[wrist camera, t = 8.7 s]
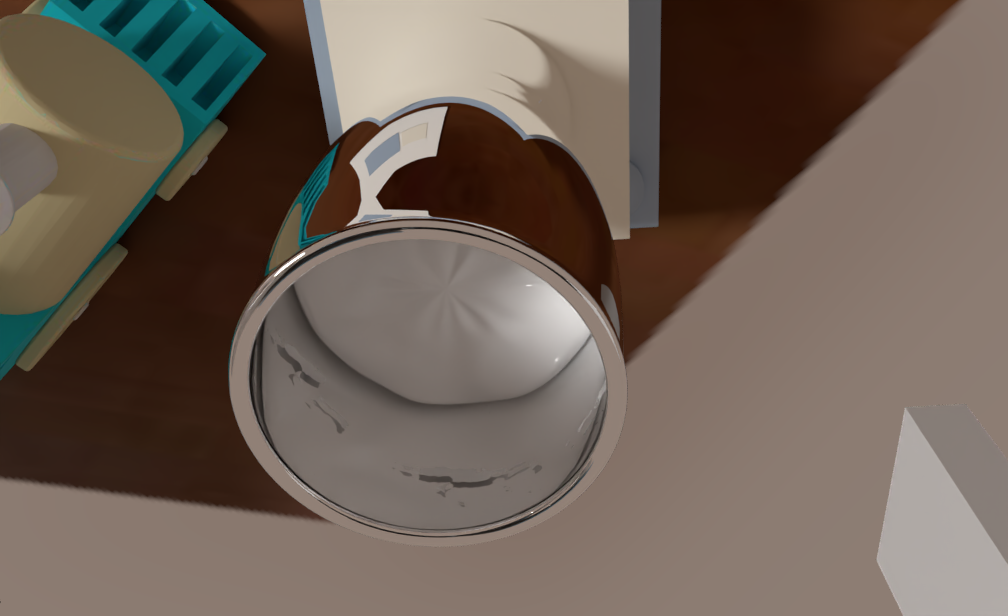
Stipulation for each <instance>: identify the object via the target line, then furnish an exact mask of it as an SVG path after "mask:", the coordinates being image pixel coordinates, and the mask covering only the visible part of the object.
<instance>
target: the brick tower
mask: <svg viewBox="0 0 1008 616" xmlns="http://www.w3.org/2000/svg"><path fill="white" fill-rule="evenodd" d="M303 1H304V6H305V12H306V17H307V23H308V28H309V34H310V39H311V44H312V50H313V55H314V61H315V66H316V72H317V77H318V83H319V88H320V93H321V99H322V104H323V110H324V115H325V121H326V126H327V132H328V137H329V142H330V146H331V145H332V144H333V143H334V142H335V141H336V140H337V139H338V138H339V137H340V136H341V135H342V134H343V133H344V132H346V131H347V130H348V129H349V128H350V127H351V126H352V125H353V124H354V123H355V122H357V121H358V120H359V119H360V118H361V117H363V116H364V115H365V114H367V113H368V112H370V111H371V110H373V109H374V108H375V103H376V97H377V92H378V89H379V85H380V82H381V80H382V77H383V75H384V73H385V71H386V69H387V67H388V65H389V64H390V62H391V60H392V59H393V58H394V56H395V55H396V54H397V53H398V51H399V50H400V49H401V48H402V47H403V46H404V45H405V44H406V43H407V42H409V41H410V40H411V39H412V38H414V37H415V36H417V35H418V34H420V33H421V32H423V31H425V30H427V29H429V28H431V27H433V26H436V25H438V24H441V23H445V22H449V21H453V20H460V19H482V20H489V21H494V22H498V23H501V24H504V25H507V26H509V27H512V28H514V29H516V30H518V31H520V32H522V33H523V34H525V35H526V36H528V37H529V38H531V39H532V40H534V41H535V42H536V43H537V44H539V45H540V46H541V47H542V48H543V49H544V50H545V51H546V52H547V53H548V55H549V56H550V57H551V58H552V60H553V61H554V63H555V64H556V66H557V67H558V69H559V71H560V73H561V74H562V77H563V79H564V81H565V84H566V86H567V89H568V93H569V97H570V102H571V110H572V127H571V135H570V140H569V143H570V144H571V146H572V147H573V148H574V150H575V151H576V153H577V154H578V156H579V157H580V159H581V161H582V162H583V164H584V166H585V168H586V170H587V172H588V173H589V175H590V177H591V179H592V181H593V183H594V185H595V187H596V189H597V191H598V193H599V195H600V198H601V200H602V203H603V206H604V209H605V212H606V216H607V219H608V223H609V227H610V230H611V234H612V237H613V240H615V239H630V228H643V227H658V213H659V132H660V51H661V0H303Z"/></svg>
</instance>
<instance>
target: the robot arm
mask: <svg viewBox="0 0 1008 616" xmlns="http://www.w3.org/2000/svg"><path fill="white" fill-rule="evenodd" d="M877 562H878V564H879V567H880V569H881V571H882V573H883V575H884V577H885V579H886V581H887V583H888V585H889V587H890V589H891V591H892V594H893V596H894V598H895V600H896V602H897V604H898V606H899V608H900V610H901V612H902V614H903V616H1008V459H1007V458H1006V457H1005V456H1004V454H1003V453H1002V452H1001V450H1000V449H999V448H998V446H997V445H996V444H995V442H994V441H993V440H992V438H991V437H990V436H989V434H988V433H987V432H986V430H985V429H984V428H983V426H982V425H981V424H980V422H979V421H978V420H977V418H976V417H975V416H974V414H973V413H972V412H971V410H970V409H969V408H968V406H967V405H966V404H956V405H955V404H954V405H936V406H918V407H905V411H904V417H903V422H902V428H901V433H900V439H899V443H898V449H897V454H896V459H895V464H894V470H893V475H892V480H891V486H890V491H889V497H888V502H887V507H886V513H885V518H884V523H883V529H882V534H881V540H880V544H879V550H878V556H877Z"/></svg>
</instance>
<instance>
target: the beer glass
mask: <svg viewBox="0 0 1008 616" xmlns="http://www.w3.org/2000/svg"><path fill="white" fill-rule="evenodd" d="M571 127H572V110H571V102H570V97H569V93H568V89H567V86H566V84H565V81H564V79H563V77H562V74H561V73H560V71H559V69H558V67H557V66H556V64H555V63H554V61H553V60H552V58H551V57H550V56H549V55H548V53H547V52H546V51H545V50H544V49H543V48H542V47H541V46H540V45H539V44H537V43H536V42H535V41H534V40H532V39H531V38H529V37H528V36H526V35H525V34H523V33H522V32H520V31H518V30H516V29H514V28H512V27H509V26H507V25H504V24H501V23H498V22H494V21H489V20H482V19H460V20H453V21H449V22H445V23H441V24H438V25H436V26H433V27H431V28H429V29H427V30H425V31H423V32H421V33H420V34H418V35H417V36H415V37H414V38H412V39H411V40H410V41H409V42H407V43H406V44H405V45H404V46H403V47H402V48H401V49H400V50H399V51H398V53H397V54H396V55H395V56H394V58H393V59H392V60H391V62H390V64H389V65H388V67H387V69H386V71H385V73H384V75H383V77H382V80H381V82H380V85H379V89H378V92H377V97H376V103H375V108H374V109H373V110H371V111H370V112H368V113H367V114H365V115H364V116H363V117H361V118H360V119H359V120H358V121H357V122H355V123H354V124H353V125H352V126H351V127H350V128H349V129H348V130H347V131H346V132H344V133H343V134H342V135H341V136H340V137H339V138H338V139H337V140H336V141H335V142H334V143H333V144H332V145H331V146H330V147H329V148H328V149H327V150H326V151H325V152H324V153H323V155H322V156H321V157H320V158H319V160H318V161H317V163H316V164H315V166H314V167H313V168H312V170H311V171H310V173H309V174H308V176H307V177H306V179H305V180H304V181H303V183H302V184H301V186H300V187H299V189H298V190H297V192H296V193H295V195H294V197H293V199H292V201H291V203H290V204H289V206H288V208H287V210H286V212H285V214H284V216H283V219H282V221H281V223H280V225H279V227H278V229H277V231H276V233H275V235H274V237H273V239H272V242H271V244H270V247H269V249H268V252H267V254H266V257H265V260H264V262H263V265H262V267H261V270H260V272H259V275H258V278H257V281H256V284H255V287H254V290H253V292H252V295H251V298H250V300H249V302H248V303H247V305H246V307H245V309H244V311H243V312H242V315H241V317H240V319H239V321H238V324H237V326H236V329H235V332H234V335H233V339H232V343H231V348H230V354H229V363H228V384H229V394H230V399H231V404H232V408H233V412H234V415H235V418H236V421H237V424H238V426H239V429H240V431H241V433H242V435H243V437H244V439H245V441H246V443H247V445H248V446H249V448H250V450H251V451H252V453H253V454H254V456H255V457H256V459H257V460H258V462H259V463H260V464H261V466H262V467H263V468H264V469H265V471H266V472H267V473H268V474H269V475H270V476H271V477H272V478H273V480H274V481H275V482H276V483H277V484H278V485H279V486H280V487H282V488H283V489H284V490H285V491H286V492H287V493H288V494H290V495H291V496H292V497H293V498H294V499H296V500H297V501H298V502H300V503H301V504H302V505H304V506H305V507H307V508H308V509H310V510H311V511H313V512H315V513H316V514H318V515H320V516H321V517H323V518H325V519H327V520H329V521H331V522H333V523H335V524H337V525H339V526H342V527H344V528H346V529H349V530H351V531H354V532H357V533H359V534H362V535H365V536H369V537H372V538H376V539H380V540H384V541H388V542H393V543H399V544H405V545H413V546H425V547H453V546H465V545H473V544H480V543H485V542H489V541H494V540H498V539H502V538H505V537H508V536H511V535H514V534H517V533H520V532H522V531H525V530H527V529H529V528H532V527H534V526H536V525H538V524H540V523H542V522H544V521H546V520H547V519H549V518H551V517H553V516H554V515H556V514H557V513H559V512H560V511H561V510H563V509H564V508H566V507H567V506H569V505H570V504H571V503H572V502H574V501H575V500H576V499H577V498H578V497H579V496H580V495H582V494H583V493H584V491H586V490H587V489H588V488H589V487H590V485H591V484H592V483H593V482H594V481H595V480H596V478H597V477H598V476H599V474H600V473H601V472H602V470H603V469H604V467H605V466H606V464H607V463H608V461H609V459H610V457H611V456H612V453H613V452H614V450H615V448H616V445H617V443H618V440H619V438H620V434H621V432H622V428H623V425H624V419H625V415H626V409H627V397H628V390H627V389H628V388H627V387H628V385H627V374H626V368H625V363H624V354H623V313H622V295H621V285H620V278H619V271H618V263H617V256H616V250H615V245H614V241H613V237H612V234H611V230H610V227H609V223H608V219H607V216H606V212H605V209H604V206H603V203H602V200H601V198H600V195H599V193H598V191H597V189H596V187H595V185H594V183H593V181H592V179H591V177H590V175H589V173H588V172H587V170H586V168H585V166H584V164H583V162H582V161H581V159H580V157H579V156H578V154H577V153H576V151H575V150H574V148H573V147H572V146H571V144H570V143H569V140H570V135H571Z"/></svg>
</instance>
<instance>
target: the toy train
mask: <svg viewBox="0 0 1008 616" xmlns="http://www.w3.org/2000/svg"><path fill="white" fill-rule="evenodd" d="M265 56H266V53H264V52H263V51H262V50H261V49H260V48H259V47H257V46H256V45H255V44H254V43H253V42H252V41H250V40H249V39H248V38H247V37H246V36H245V35H243V34H242V33H241V32H240V31H239V30H237V29H236V28H235V27H234V26H233V25H232V24H230V23H229V22H228V21H227V20H226V19H225V18H223V17H222V16H221V15H220V14H219V13H218V12H216V11H215V10H214V9H213V8H212V7H211V6H209V5H208V4H207V3H206V2H205V1H203V0H36V1H34V2H33V3H32V4H31V5H30V6H29V7H28V8H26V9H25V10H24V11H23V12H22V13H21V14H15V15H10V16H6V17H4V18H2V19H0V380H1V379H2V378H3V377H4V376H5V375H6V373H7V372H8V371H9V370H10V369H11V368H12V367H13V366H14V365H15V363H16V365H17V366H18V367H20V368H22V369H23V370H25V371H30V370H31V369H32V368H33V367H34V366H35V365H36V364H37V362H38V361H39V360H40V359H41V358H42V357H43V356H44V354H45V353H46V352H47V351H48V350H49V349H50V348H51V346H52V345H53V344H54V343H55V342H56V341H57V339H58V338H59V337H60V336H61V335H62V333H63V332H64V331H65V330H66V329H67V328H68V326H69V325H70V324H71V323H72V322H73V320H77V319H78V318H79V316H80V315H81V314H82V313H83V312H84V310H85V309H86V308H87V307H88V305H89V303H88V302H89V301H90V300H91V299H92V298H93V296H94V295H95V294H96V293H97V292H98V290H99V289H100V288H101V287H102V285H103V284H104V283H105V282H106V281H107V279H108V278H109V277H110V276H111V274H112V273H113V272H114V271H115V269H116V268H117V267H118V266H119V264H120V263H121V262H122V261H123V259H124V258H125V257H126V255H127V254H128V250H127V249H125V248H124V247H123V246H121V245H120V244H117V241H118V240H119V239H120V238H121V236H122V235H123V234H124V233H125V231H126V230H127V229H128V228H129V226H130V225H131V224H132V223H133V221H134V220H135V219H136V217H137V216H138V215H139V214H140V212H141V211H142V210H143V209H144V207H145V206H146V205H147V204H148V202H149V201H150V200H151V199H152V197H153V196H154V195H155V194H157V195H159V196H160V197H161V198H163V199H164V200H166V201H169V200H170V199H171V198H172V197H173V196H174V195H175V194H176V193H177V192H178V191H179V189H180V188H181V187H182V186H183V185H184V184H185V182H186V181H187V180H188V179H189V178H190V177H191V175H195V174H196V173H197V172H198V171H199V170H200V169H201V168H202V166H203V165H204V164H205V163H206V161H207V160H208V157H207V156H208V155H209V154H210V152H211V151H212V150H213V149H214V147H215V146H216V145H217V144H218V142H219V141H220V140H221V139H222V137H223V136H224V135H225V133H226V132H227V130H228V127H227V126H226V125H225V124H224V123H222V122H221V121H220V120H218V119H215V118H216V117H217V116H218V115H219V113H220V112H221V111H222V110H223V108H224V107H225V106H226V105H227V103H228V102H229V101H230V100H231V98H232V97H233V96H234V95H235V93H236V92H237V91H238V90H239V88H240V87H241V86H242V85H243V83H244V82H245V81H246V80H247V78H248V77H249V76H250V75H251V73H252V72H253V71H254V70H255V68H256V67H257V66H258V65H259V63H260V62H261V61H262V59H263V58H264V57H265Z"/></svg>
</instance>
